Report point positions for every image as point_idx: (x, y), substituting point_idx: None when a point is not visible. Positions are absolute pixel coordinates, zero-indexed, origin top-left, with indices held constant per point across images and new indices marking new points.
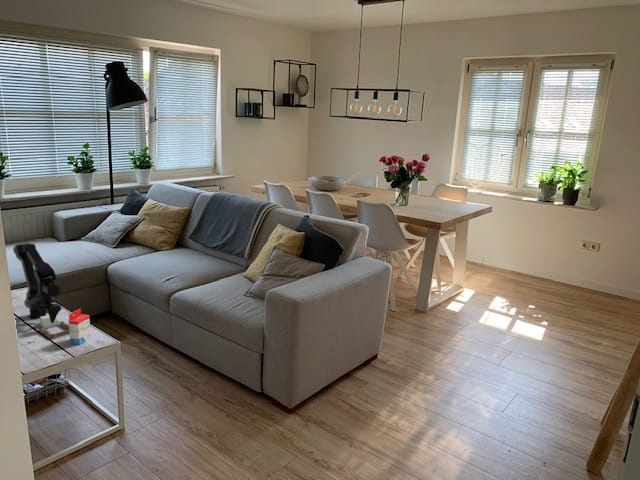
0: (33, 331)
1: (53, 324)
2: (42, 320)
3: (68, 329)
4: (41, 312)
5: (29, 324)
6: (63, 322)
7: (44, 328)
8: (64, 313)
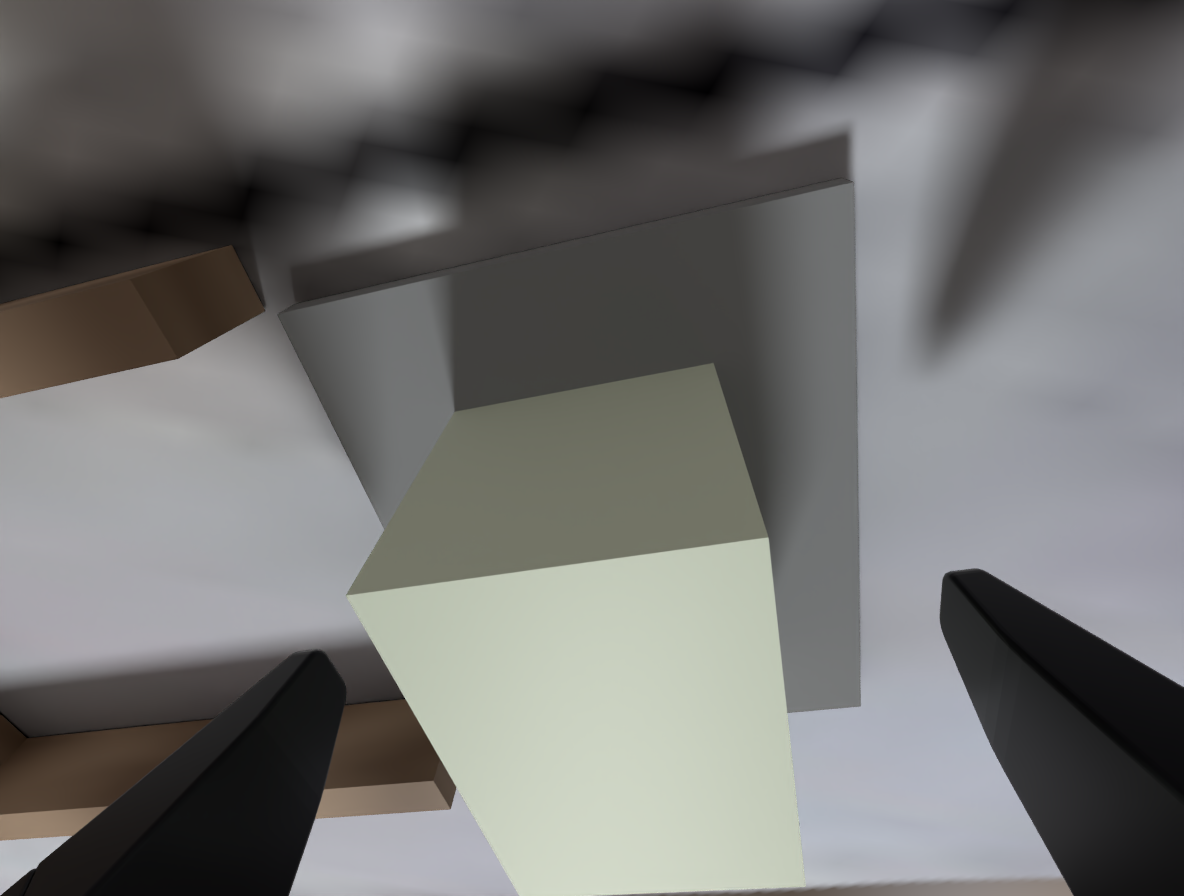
0: (274, 34)
1: None
2: (458, 527)
3: (144, 737)
4: (1151, 789)
5: (1115, 9)
6: (349, 802)
7: (323, 401)
8: None
